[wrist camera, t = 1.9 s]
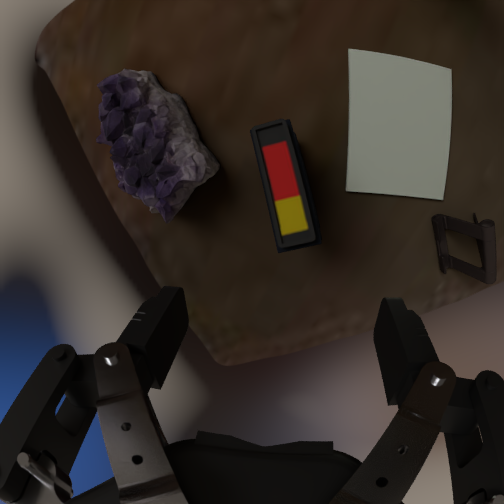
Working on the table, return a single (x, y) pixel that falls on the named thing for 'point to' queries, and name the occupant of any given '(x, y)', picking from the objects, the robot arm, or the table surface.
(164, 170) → the geode
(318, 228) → the black red yellow block
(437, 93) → the sage mat
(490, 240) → the portable electronic device stand
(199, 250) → the table surface
